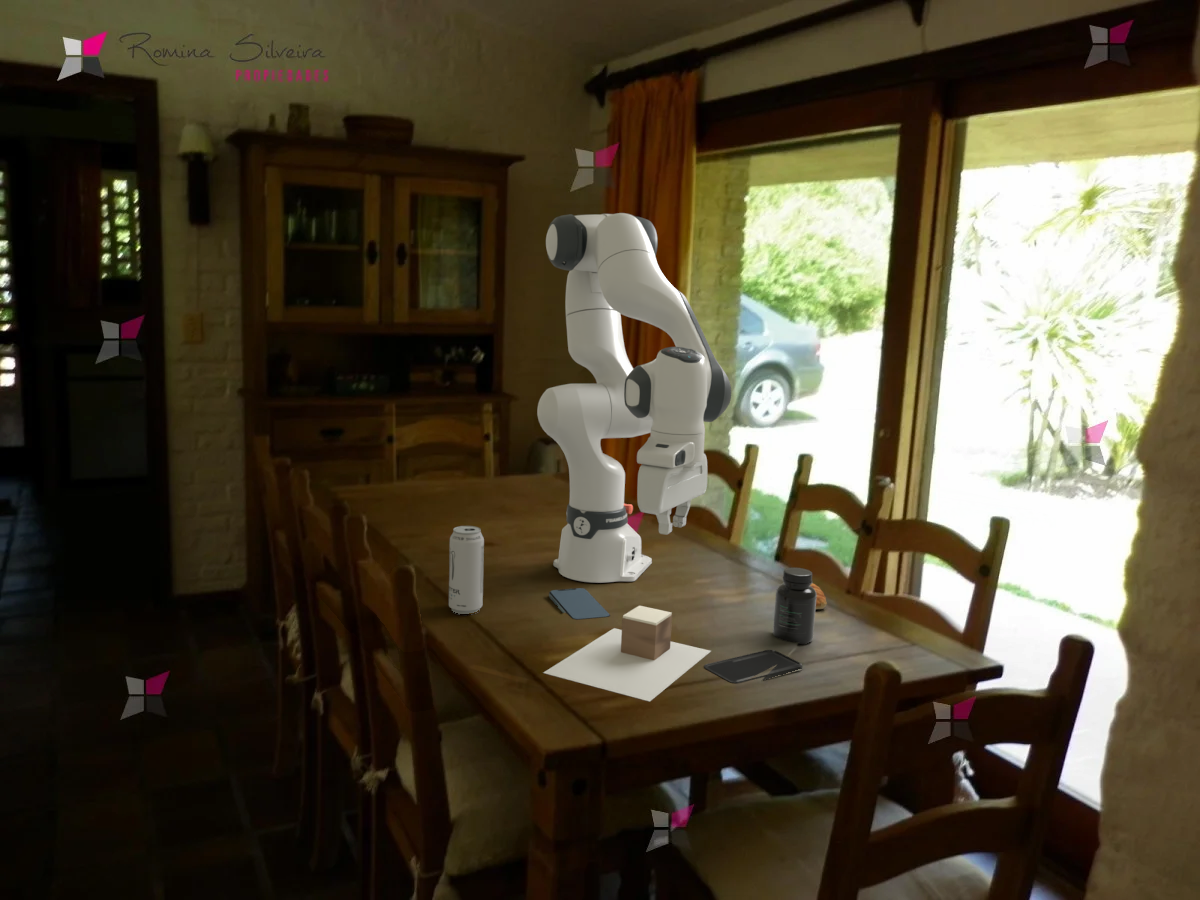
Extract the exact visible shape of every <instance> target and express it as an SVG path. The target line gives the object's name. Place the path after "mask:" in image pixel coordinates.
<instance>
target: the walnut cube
mask: <svg viewBox="0 0 1200 900" xmlns="http://www.w3.org/2000/svg"><path fill="white" fill-rule="evenodd" d="M672 613H673V612H672V611H671V612H670V611H667V610H662V609H658V608H652V607H649V606H648V607H647V606H643V605H638V606H636V607H634V608H633V609H631V610H629V611H628V612H627V613H624V614H623V615H622V618H621V619H622V620H621V630H622V636H621V652H622V653H626V654H630V655H634V656H638V657H642V658H646V659H650V660H656V659H657V658H658V657H660V656H661V655H662V654H664V653H665V652H666V651H668V650H669V649H670V642H672V641H671V637H672V622H673V614H672Z"/></svg>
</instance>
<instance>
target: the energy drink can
mask: <svg viewBox="0 0 1200 900" xmlns="http://www.w3.org/2000/svg"><path fill="white" fill-rule="evenodd" d="M452 529H453V532H452V534H451V535H450V537H449V554H448V555H449V556H448V557H449V559H448V560H449V562H448V563H449V564H448V565H449V569H448V570H449V571H448V572H449V573H448V576H449V577H448V607H449V608H451V611H453V612H452V613H454V612H455V613H454V614H456V613H458V614H457V615H460V614H469V613H474V612H477V611H478V610H479V611H480V609H481V608H482V607H483V600H484V599H483V598H484V597H483V596H484V562H485V561H484V557H485V556H484V554H485V552H484V551H485V549H484V548H485V539H484V538H485V537H484V536H483V534H482V531H481V527H478V526H474V525H460V526H456V527H454V528H452ZM477 613H478V612H477Z"/></svg>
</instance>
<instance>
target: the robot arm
mask: <svg viewBox="0 0 1200 900" xmlns="http://www.w3.org/2000/svg"><path fill="white" fill-rule="evenodd" d="M545 247H546V252H547V258H548V260H549V261H550V263H551V264H552V265H553V267H555V268H557V269H560V270H563V271H569V272H568V274H567V276H566V277H567V278H566V285H565V306H564V307H565V308H564V309H565V324H566V336H567V347H568V349H567V350H568V353H569V355H570V357H571V359H572V360H573V361H574V362H575V363H577V364H578V365H580V366H582V367H584V368H586V369H587V370H588V371H589V372H590V373H591V374H592V375H593V378H594V379H595V382H596V383H567V384H561V385H560V384H559V385H556V386H553V387H549V388H546V389H545V391H544V392H543V393H542V395H541V396H540V398H539V400H538V403H537V413H536V415H537V419H538V420H537V421H538V423H539V425H540V427H541V429H542V430H543V431H544V432H545V433H546V435H547V436H549V437H550V438H552V439H553V440H554V442H556V443H557V444H558V446H559V447H560V449H561V450H562V452H563V453H564V456H565V459H566V462H567V465H568V466H567V467H568V474H569V475H568V476H569V502H568V504H567V505H566V506H567V507H566V513H565V514H566V520H565V521H566V522H567V524H566V525H565V526H564V527H562V529H561V536H560V543H559V551H558V558H556V559H554V560H553V564H552V565H553V567H555V568H557V569H558V573H559V574H560V575H562V577H565V578H567V579H569V580H573V581H578V582H584V583H597V584H598V583H600V584H601V583H614V582H635V581H637V580H638V578H639V577H640V576H641V575H642V574H643V573H644V572H645V571H646V570H647V569H648V568H649V567H650V566H651V564H652V563H653V561H652V557H649V556H648V555H645V554H643V553H642V537H641V536H640V534H638V533H637V531H635V529H634V528H632V527H631V526H630V525H629V524H628V522H629V520H628V515H631V514H632V513H633V511H634V506H633V504H629V503H628V504H627V503H625V489H626V488H625V484H626V472H625V470H624V467H623V465H622V464H621V463H620V462H619V461H618V460H616V458H613V457H612V456H609V455H608V454H605V453H603V450H602V446H601V441H602V439H621V438H623V439H627V438H635V437H639V436H643V435H647V434H650V436H649V437H648V438H647V441H646V442H645V443H644V444H643V445H642V446H641V447H640V449H638V451H637V452H636V462H637V464H639V465H640V464H641V465H640V467H639V470H638V472H637V485H636V486H637V488H636V489H637V492H636V493H637V494H636V495H637V496H636V497H637V498H636V499H637V506H638V508H639V509H638V510H639V511H640V512H641V513H644V514H651V515H655V516H656V518H657V519H656V520H657V522H658V533H659V534H660V535H669V534H671V533H672V532H673V527H675V528H682V527H685V526H686V524H687V516H688V514H689V510H690V508H691V503H692V500H694V499H696V498H699V497H700V496H702V495H705V493H706V491H707V488H708V459H707V455H706V453H705V439H706V427H705V426H706V425H705V423H712V422H714V421H715V420H717V419H718V418H719V417H720V416H721V415H722V414H724V412H725V411H726V410H727V409H728V407H729V406H730V402H731V399H732V385H731V382H730V379H729V377H728V375H727V374H726V372H725V370H724V369H723V367H722V366H721V365H720V363H719V362H718V360H717V359H716V357H715V355H714V353H713V351H712V349H711V347H710V345H709V343H708V340H707V339H706V336H705V334H704V331H703V329H702V328H701V325H700V324H699V321H698V319H697V316H696V315H695V313H694V311H693V309H692V306H691V305H690V303H689V301H688V299H687V297H686V295H685V294H684V293H683V292H681V291H680V290H679V289H677V288H676V287H674V285H673V284H671V282H670V281H669V280H668V278H666V276H665V275H664V273H663V272H662V270H661V268H660V265H659V264H658V261H657V257H656V255H657V252H658V234H657V230H656V228H655V226H654V224H653V222H652V221H650V220H649V219H646V218H643V217H640V216H636V215H633V214H630V213H625V212H619V213H618V212H617V213H601V214H577V215H574V214H572V213H571V214H564V215H560V216H557V217H555V218H553V220H552V221H551V222H550V224H549V225H548V229H547V233H546V237H545ZM621 315H622V316H625V317H628V318H631V319H634V320H637V321H641V322H643V323H647V324H649V325H652V326H654V327H656V328H659V329H660V330H662V331H663V332H665V333H667V335H668V336H669V337H670V338H671V339H672V342H673V343H674V345H675V346H668V347H664V348H662V349H661V350H659V351H658V352H657V355H656V358H655V359H653V360H652V361H649V362H647V363H643V364H640V365H637V366H635V367H633V365H632V364H631V362H630V359H629V357H628V355H627V351H626V347H625V342H624V341H625V340H624V334H623V326H622V316H621ZM675 507H676V508H675ZM674 508H675V509H676V510H675V513H674V515H673V517H672V522H671V516H670V515H671V514H672V509H674Z"/></svg>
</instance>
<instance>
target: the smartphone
mask: <svg viewBox="0 0 1200 900" xmlns="http://www.w3.org/2000/svg"><path fill="white" fill-rule="evenodd" d="M548 597H549V599H550V600H551V601H552V602H553V603H554V605H555V606H556V605H557V606H558V607H557V606H556V607H557V608H558V609H559V610H560V611H561V612H562V614H565V613H566V614H567V615H568V616H569V617H570V618H571V619H572V620H576V621H578V620H590V619H601V618H603V619H604V618H609V617H611V614H610V613H609V612H608V611H607V610H606V609H605V608H604V607H603V605H602V604H600V603H599V602H598V600H596V598H595V597H593V595H592V594H591V593H590V592H589V591H588V590H587V589H586V588H584V587H580V588H578V587H577V588H576V587H573V588H562V589H561V588H560V589H553V590H552V589H551V590H550V591H548Z"/></svg>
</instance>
